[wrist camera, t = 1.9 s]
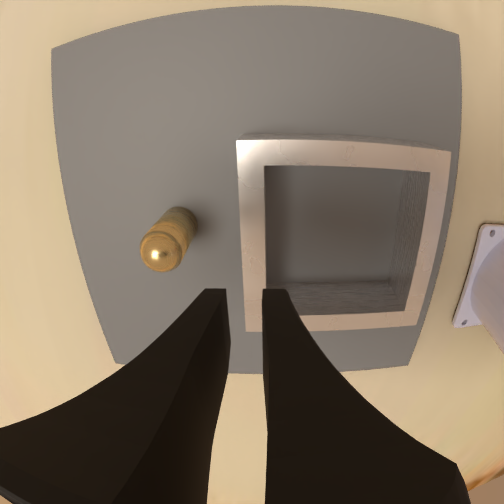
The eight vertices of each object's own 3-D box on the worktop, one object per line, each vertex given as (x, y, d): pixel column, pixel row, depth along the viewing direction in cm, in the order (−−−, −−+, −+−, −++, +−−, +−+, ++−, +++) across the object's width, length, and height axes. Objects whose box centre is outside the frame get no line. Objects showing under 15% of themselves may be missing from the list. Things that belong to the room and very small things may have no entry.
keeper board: (451, 36, 11) (458, 34, 10) (405, 358, 21) (408, 365, 20) (59, 50, 12) (51, 49, 12) (119, 356, 22) (115, 363, 21)
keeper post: (199, 201, 16) (174, 237, 12) (202, 236, 17) (181, 281, 13) (163, 202, 17) (128, 238, 12) (168, 236, 17) (137, 280, 13)
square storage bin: (421, 142, 13) (451, 151, 11) (398, 294, 17) (416, 325, 15) (242, 134, 14) (236, 140, 11) (249, 297, 18) (245, 331, 15)
